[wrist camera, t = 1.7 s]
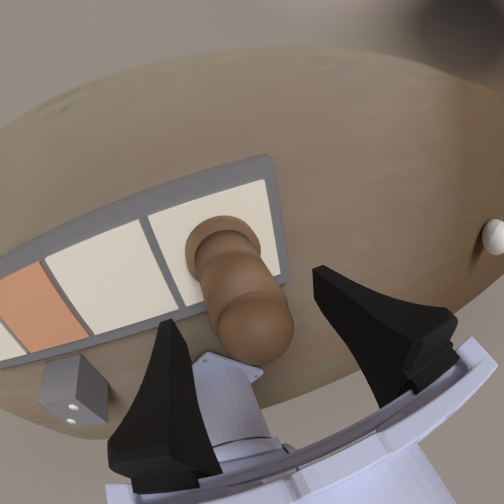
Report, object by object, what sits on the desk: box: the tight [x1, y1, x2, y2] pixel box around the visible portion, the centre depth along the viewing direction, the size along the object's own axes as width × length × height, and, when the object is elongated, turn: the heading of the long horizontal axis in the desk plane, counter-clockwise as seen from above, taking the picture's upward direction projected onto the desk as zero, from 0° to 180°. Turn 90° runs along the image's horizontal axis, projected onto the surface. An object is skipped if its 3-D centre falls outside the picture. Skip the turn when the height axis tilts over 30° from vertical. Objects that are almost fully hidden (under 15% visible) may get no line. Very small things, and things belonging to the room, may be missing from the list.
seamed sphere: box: [482, 214, 504, 255], centre depth 29 cm, size 8×6×6 cm
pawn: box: [185, 215, 294, 365], centre depth 14 cm, size 5×5×9 cm
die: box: [38, 354, 108, 427], centre depth 19 cm, size 5×5×5 cm
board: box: [0, 154, 290, 369], centre depth 17 cm, size 33×10×1 cm, turn 102°
